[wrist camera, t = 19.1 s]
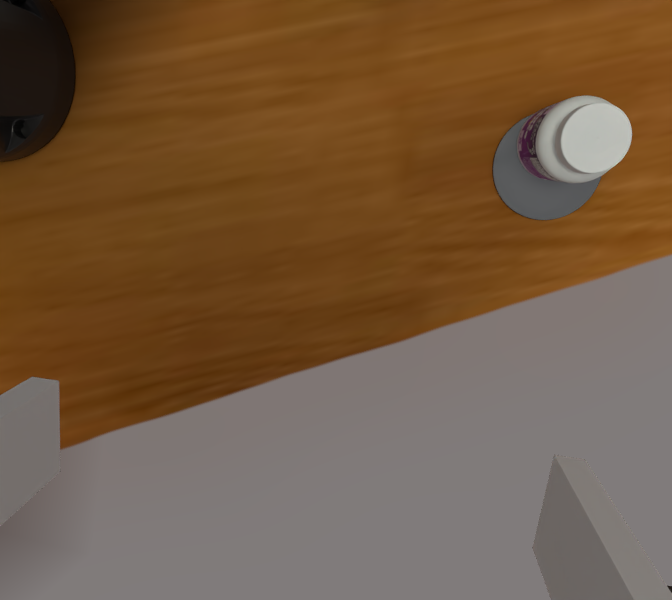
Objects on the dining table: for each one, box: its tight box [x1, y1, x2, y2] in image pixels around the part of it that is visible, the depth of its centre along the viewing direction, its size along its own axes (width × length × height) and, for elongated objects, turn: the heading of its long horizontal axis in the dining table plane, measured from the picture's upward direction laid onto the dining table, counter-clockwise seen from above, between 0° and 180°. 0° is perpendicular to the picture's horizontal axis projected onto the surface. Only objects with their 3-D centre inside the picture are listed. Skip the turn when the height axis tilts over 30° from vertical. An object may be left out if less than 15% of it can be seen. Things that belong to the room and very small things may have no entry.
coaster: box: [493, 115, 601, 220], centre depth 42 cm, size 8×8×1 cm
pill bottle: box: [517, 96, 632, 183], centre depth 36 cm, size 5×5×10 cm
